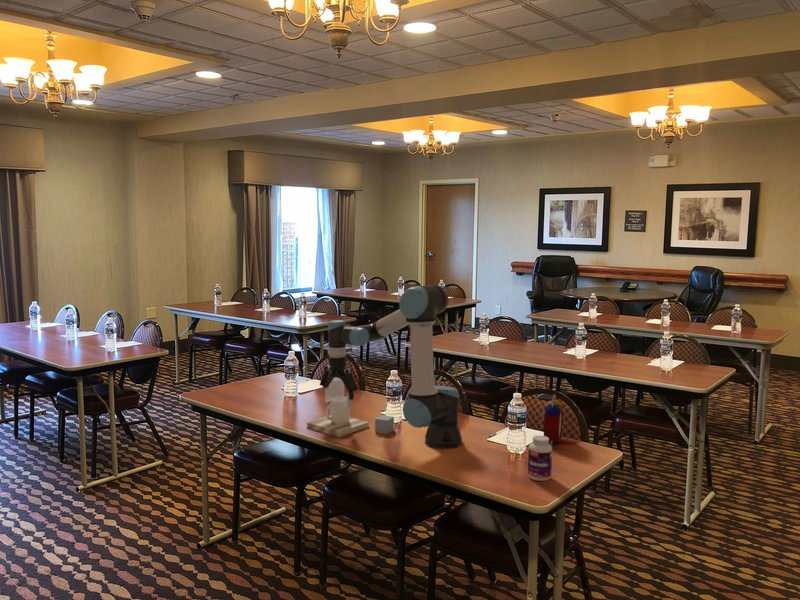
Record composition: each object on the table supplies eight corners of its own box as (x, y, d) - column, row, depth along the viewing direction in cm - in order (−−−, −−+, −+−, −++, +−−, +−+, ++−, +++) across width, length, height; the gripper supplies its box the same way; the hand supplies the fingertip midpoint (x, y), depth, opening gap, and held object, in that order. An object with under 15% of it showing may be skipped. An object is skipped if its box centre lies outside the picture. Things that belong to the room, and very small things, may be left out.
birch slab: (368, 428, 278) (368, 422, 278) (339, 438, 264) (339, 431, 264) (336, 419, 291) (336, 413, 291) (306, 429, 277) (306, 422, 277)
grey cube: (393, 430, 274) (393, 416, 273) (387, 434, 269) (387, 420, 268) (381, 428, 277) (381, 415, 276) (375, 432, 271) (375, 418, 270)
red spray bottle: (558, 448, 252) (560, 399, 250) (536, 445, 255) (538, 397, 253) (562, 437, 266) (564, 390, 264) (541, 434, 269) (543, 388, 267)
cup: (336, 401, 319) (336, 381, 318) (319, 397, 326) (319, 378, 325) (347, 397, 326) (347, 378, 325) (330, 394, 333) (330, 375, 332)
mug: (331, 427, 270) (331, 404, 269) (319, 423, 276) (319, 400, 275) (353, 421, 278) (353, 398, 277) (341, 417, 284) (341, 395, 283)
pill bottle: (525, 480, 220) (526, 440, 218) (529, 472, 228) (530, 433, 226) (549, 483, 217) (550, 442, 216) (552, 475, 225) (554, 435, 223)
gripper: (364, 358, 269) (365, 406, 271) (323, 351, 285) (324, 398, 287) (352, 360, 263) (353, 410, 265) (311, 354, 279) (312, 401, 281)
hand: (338, 404), depth 276 cm, fingers open, 13 cm apart
